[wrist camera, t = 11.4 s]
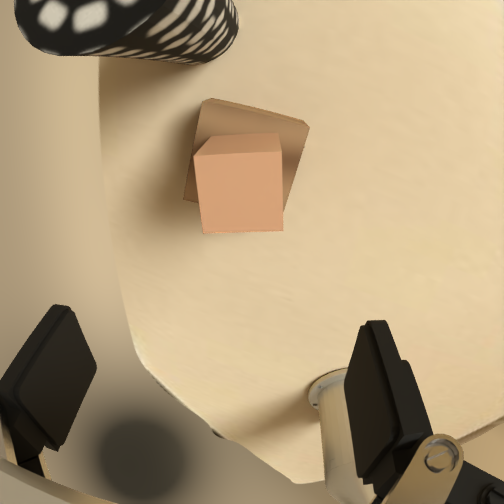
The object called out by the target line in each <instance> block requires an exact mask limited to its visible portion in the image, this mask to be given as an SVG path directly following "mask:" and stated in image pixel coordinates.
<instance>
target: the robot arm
mask: <svg viewBox="0 0 504 504" xmlns="http://www.w3.org/2000/svg"><path fill="white" fill-rule="evenodd" d="M96 369H97V365H96V362H95V360H94V358H93V355H92V353H91V351H90V349H89V346H88V344H87V342H86V340H85V337H84V335H83V333H82V330H81V328H80V325H79V323H78V320H77V318H76V316H75V313H74V312H73V311H72V310H71V308H70V307H69V306H64V305H57V304H55V305H53V306H52V307H51V308H50V309H49V310H48V312H47V313H46V314H45V316H44V317H43V318H42V320H41V321H40V322H39V324H38V325H37V327H36V328H35V329H34V331H33V332H32V334H31V335H30V336H29V338H28V339H27V341H26V342H25V343H24V345H23V347H22V348H21V349H20V351H19V352H18V354H17V355H16V357H15V358H14V360H13V361H12V363H11V364H10V366H9V368H8V369H7V371H6V372H5V374H4V375H3V377H2V378H1V380H0V504H117V503H113V502H109V501H106V500H103V499H100V498H96V497H94V496H90V495H88V494H84V493H82V492H79V491H76V490H74V489H71V488H68V487H66V486H63V485H61V484H58V483H56V482H53V481H52V479H51V476H50V473H49V470H48V467H47V464H46V461H45V458H44V454H43V451H42V450H43V447H44V445H45V446H46V447H47V448H49V449H52V450H54V451H57V452H58V450H59V448H60V446H61V445H63V444H64V442H65V440H66V438H67V436H68V433H69V431H70V429H71V426H72V424H73V422H74V419H75V417H76V414H77V412H78V410H79V408H80V406H81V403H82V401H83V399H84V397H85V395H86V392H87V390H88V388H89V386H90V384H91V382H92V379H93V377H94V375H95V373H96ZM308 400H309V403H310V405H311V406H312V407H313V408H315V409H316V410H319V418H320V428H321V439H322V450H323V462H324V475H325V485H326V488H327V490H328V492H329V494H330V495H331V496H332V497H333V498H334V499H335V500H337V501H338V502H340V503H341V504H504V482H503V481H502V480H500V479H498V478H496V477H494V476H492V475H490V474H488V473H487V472H485V471H483V470H481V469H479V468H477V467H475V466H473V465H471V464H470V463H468V462H466V461H464V453H463V450H462V447H461V445H460V444H459V443H458V441H457V440H456V439H454V438H453V437H451V436H449V435H445V434H435V435H433V431H432V428H431V425H430V422H429V418H428V415H427V412H426V409H425V406H424V403H423V400H422V397H421V394H420V391H419V388H418V386H417V383H416V380H415V377H414V374H413V372H412V369H411V366H410V364H409V362H408V361H407V360H401V358H400V355H399V353H398V350H397V347H396V345H395V342H394V339H393V337H392V334H391V331H390V329H389V326H388V324H387V322H386V321H385V320H371V321H367V322H366V324H365V325H362V326H360V329H359V332H358V336H357V340H356V343H355V346H354V350H353V353H352V357H351V360H350V363H349V366H348V368H346V369H341V370H337V371H334V372H331V373H329V374H327V375H325V376H323V377H321V378H320V379H318V380H317V381H316V382H315V383H314V384H313V385H312V386H311V387H310V389H309V392H308Z"/></svg>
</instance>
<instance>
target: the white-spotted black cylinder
mask: <svg viewBox="0 0 504 504" xmlns="http://www.w3.org/2000/svg"><path fill="white" fill-rule="evenodd" d="M14 9H15V17H16V21H17V24H18V27H19V29H20V31H21V33H22V34H23V36H24V38H25V39H26V40H27V41H28V42H30V44H31V45H32V46H34V47H35V48H37V49H39V50H41V51H43V52H44V53H48V54H53V55H57V56H106V57H124V58H137V59H148V60H157V61H166V62H173V63H181V64H188V65H194V64H202V63H206V62H209V61H211V60H214V59H215V58H217V57H219V56H220V55H222V54H223V53H224V52H225V51H226V50H227V49H228V48H229V47H230V46H231V44H232V43H233V41H234V39H235V38H236V35H237V32H238V28H239V18H238V13H237V10H236V8H235V6H234V3H233V1H232V0H14Z"/></svg>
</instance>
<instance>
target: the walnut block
mask: <svg viewBox="0 0 504 504" xmlns="http://www.w3.org/2000/svg"><path fill="white" fill-rule="evenodd" d="M309 129H310V127H309V126H308V125H307V124H306V123H305V122H304V121H303V120H300V119H296V118H293V117H289V116H285V115H282V114H278V113H274V112H271V111H267V110H263V109H259V108H255V107H250V106H246V105H242V104H237V103H233V102H228V101H224V100H219V99H214V98H211V99H208V100H205V101H203V102H202V106H201V111H200V115H199V120H198V125H197V129H196V134H195V139H194V144H193V149H192V154H191V159H190V165H189V170H188V175H187V181H186V187H185V192H184V198H183V199H184V200H188V201H193V202H197V203H199V198H198V190H197V182H196V174H195V165H194V157H193V156H194V155H195V154H196V153H197V152H198V150H199V149H200V148H201V147H202V146H203V145H204V144H205V142H206V141H207V140H208V139H209V138H210V137H211V136H218V135H234V134H253V133H278V136H279V140H280V145H281V150H282V183H283V212H284V208H285V205H286V202H287V199H288V196H289V193H290V190H291V186H292V183H293V180H294V177H295V174H296V171H297V167H298V164H299V161H300V158H301V155H302V151H303V148H304V145H305V142H306V138H307V135H308V132H309Z"/></svg>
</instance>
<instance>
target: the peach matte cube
mask: <svg viewBox="0 0 504 504" xmlns="http://www.w3.org/2000/svg"><path fill="white" fill-rule="evenodd" d="M193 157H194V165H195V174H196V182H197V190H198V198H199V206H200V214H201V221H202V229H203V233H231V232H266V231H283V183H282V150H281V145H280V140H279V136H278V133H253V134H234V135H218V136H211V137H210V138H209V139H208V140H207V141H206V142H205V144H204V145H203V146H202V147H201V148H200V149H199V150H198V152H197V153H196V154H195V155H194V156H193Z"/></svg>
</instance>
